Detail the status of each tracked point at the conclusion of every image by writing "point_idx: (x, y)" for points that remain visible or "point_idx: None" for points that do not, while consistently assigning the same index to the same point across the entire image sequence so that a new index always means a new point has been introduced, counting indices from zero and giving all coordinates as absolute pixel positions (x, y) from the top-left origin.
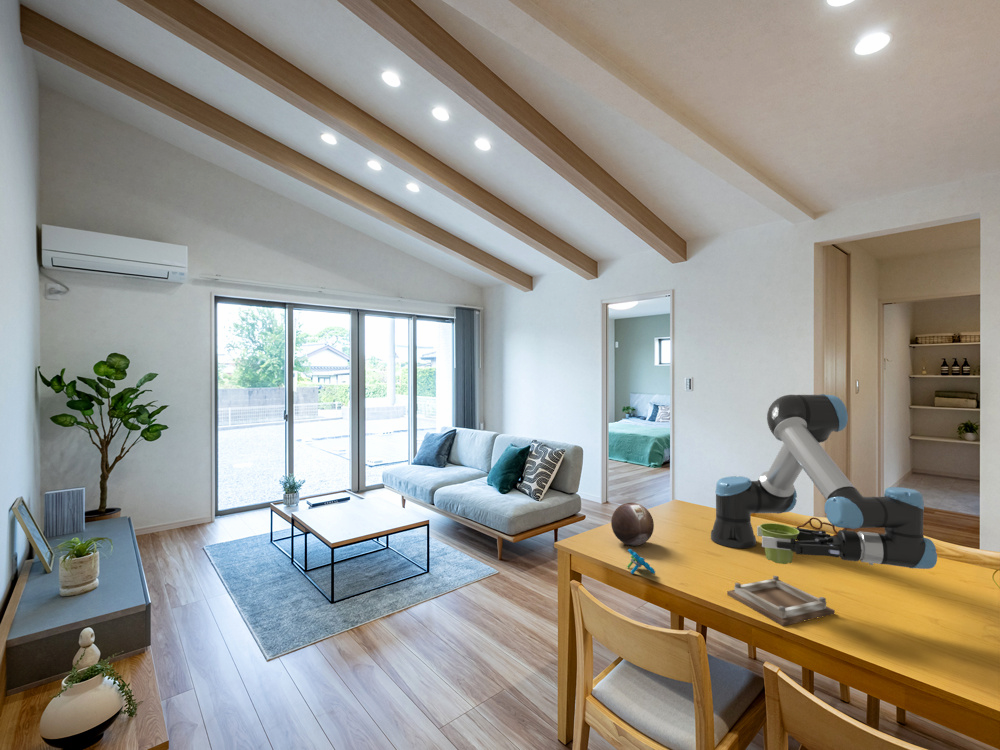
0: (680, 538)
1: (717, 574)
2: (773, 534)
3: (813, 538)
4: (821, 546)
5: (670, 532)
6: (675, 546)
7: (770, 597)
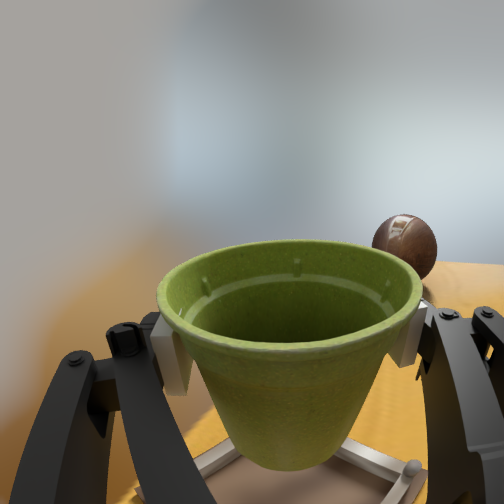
0: (485, 303)
1: (388, 376)
2: (191, 275)
3: (449, 501)
4: (15, 490)
5: (490, 292)
6: (450, 308)
7: (295, 483)
